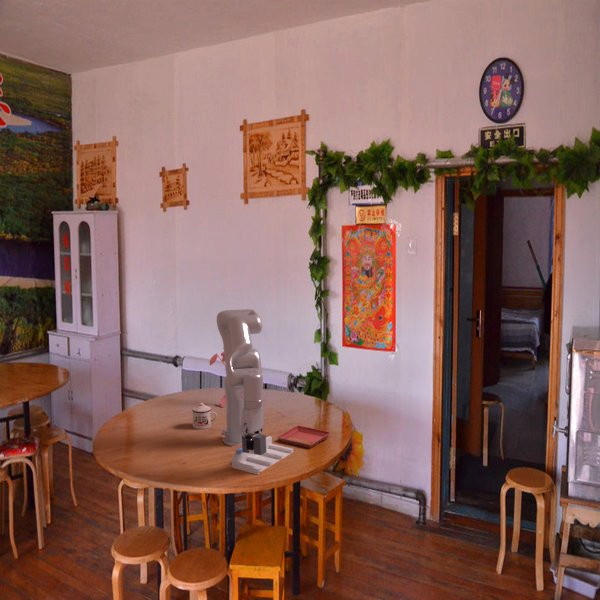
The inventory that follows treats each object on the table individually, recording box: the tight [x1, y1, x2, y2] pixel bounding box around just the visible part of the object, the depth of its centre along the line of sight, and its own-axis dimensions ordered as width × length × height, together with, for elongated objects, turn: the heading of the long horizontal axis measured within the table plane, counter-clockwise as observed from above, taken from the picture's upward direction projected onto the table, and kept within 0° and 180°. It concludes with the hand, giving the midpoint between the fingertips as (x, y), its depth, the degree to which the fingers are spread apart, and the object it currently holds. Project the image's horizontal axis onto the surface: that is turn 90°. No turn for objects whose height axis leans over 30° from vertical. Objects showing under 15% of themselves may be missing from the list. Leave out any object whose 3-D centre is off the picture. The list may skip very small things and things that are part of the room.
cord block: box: [241, 433, 267, 455], centre depth 239 cm, size 9×4×7 cm, turn 58°
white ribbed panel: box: [231, 435, 294, 475], centre depth 248 cm, size 13×26×6 cm, turn 148°
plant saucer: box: [277, 425, 331, 449], centre depth 271 cm, size 18×18×3 cm
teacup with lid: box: [191, 402, 218, 430], centre depth 289 cm, size 12×9×12 cm
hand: (253, 447), depth 240 cm, fingers closed on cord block, 4 cm apart
